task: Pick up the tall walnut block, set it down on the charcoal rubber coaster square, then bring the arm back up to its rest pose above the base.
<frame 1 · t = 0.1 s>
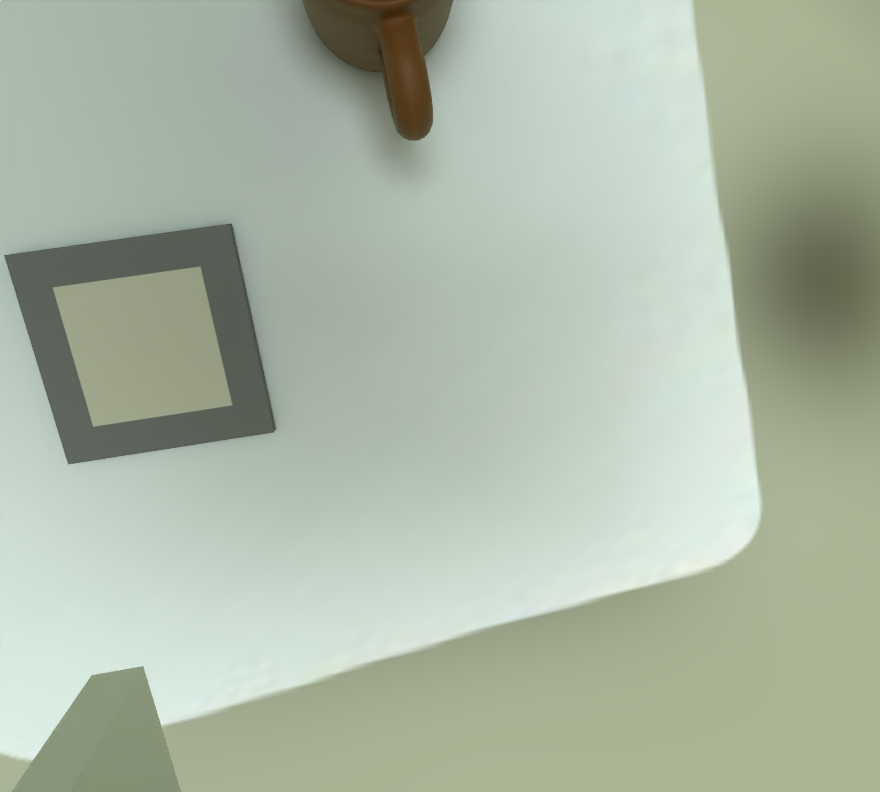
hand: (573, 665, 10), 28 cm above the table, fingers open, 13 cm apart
mug: (387, 44, 33), on the table
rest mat: (149, 346, 35), on the table
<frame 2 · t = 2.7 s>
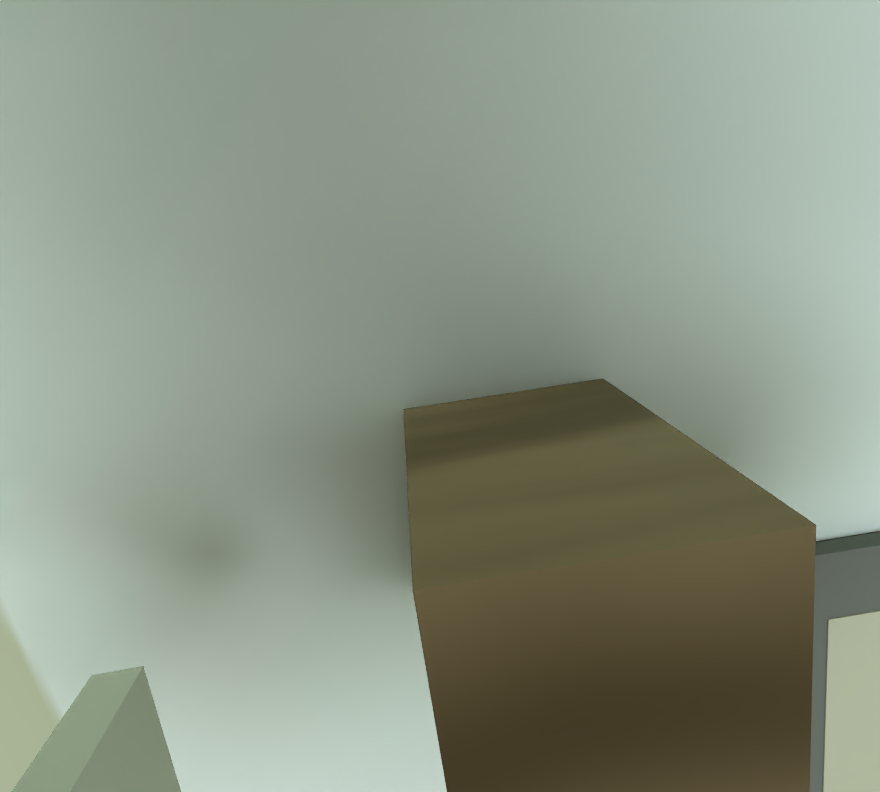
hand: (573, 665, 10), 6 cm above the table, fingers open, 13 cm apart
walnut block: (514, 486, 16), on the table
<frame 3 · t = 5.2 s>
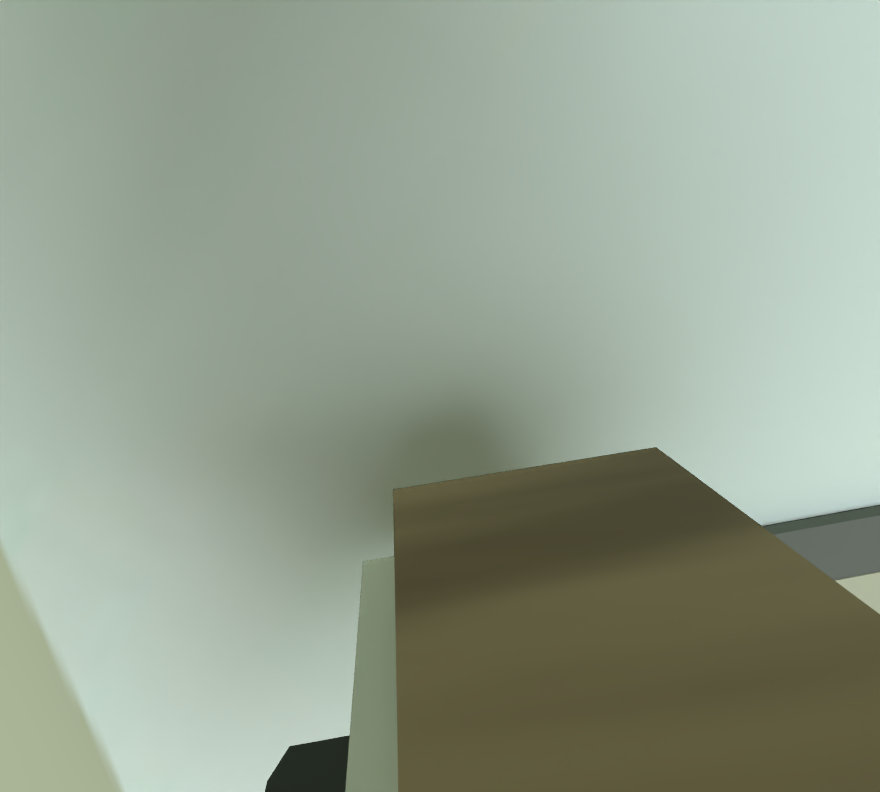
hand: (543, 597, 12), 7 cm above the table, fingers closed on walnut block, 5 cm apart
walnut block: (539, 586, 12), point 7 cm above the table, touching gripper
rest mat: (838, 670, 22), on the table
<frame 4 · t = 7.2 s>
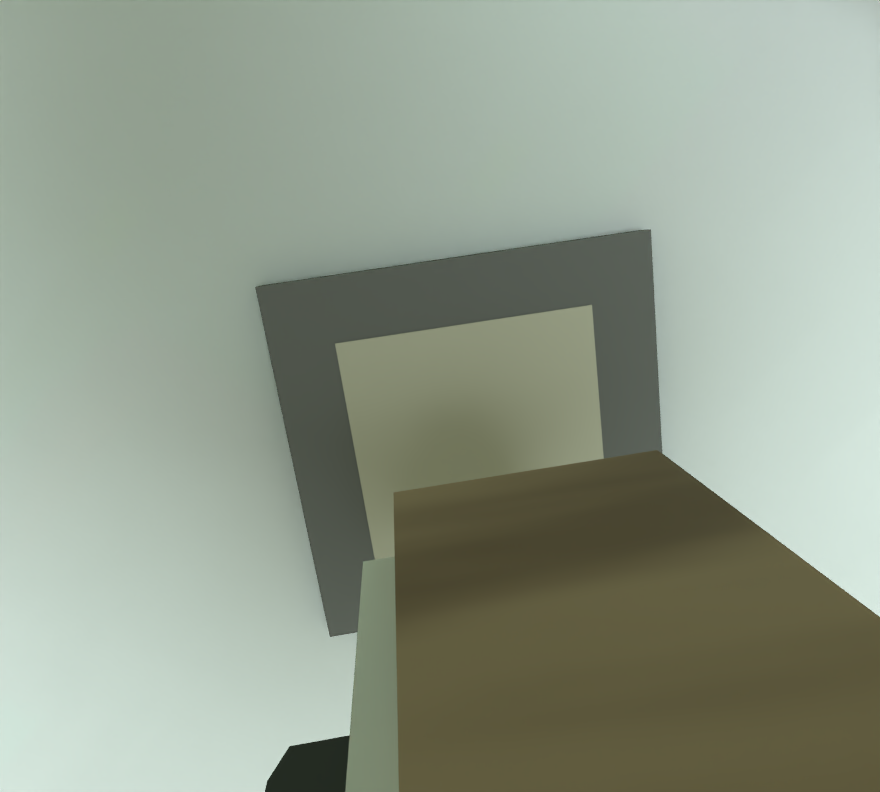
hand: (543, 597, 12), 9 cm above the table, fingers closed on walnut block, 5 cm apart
walnut block: (539, 589, 12), point 9 cm above the table, touching gripper
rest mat: (477, 440, 21), on the table
when the fingers open (1 cm above the table, at t = 9.2 s): walnut block stays where it is, resting on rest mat.
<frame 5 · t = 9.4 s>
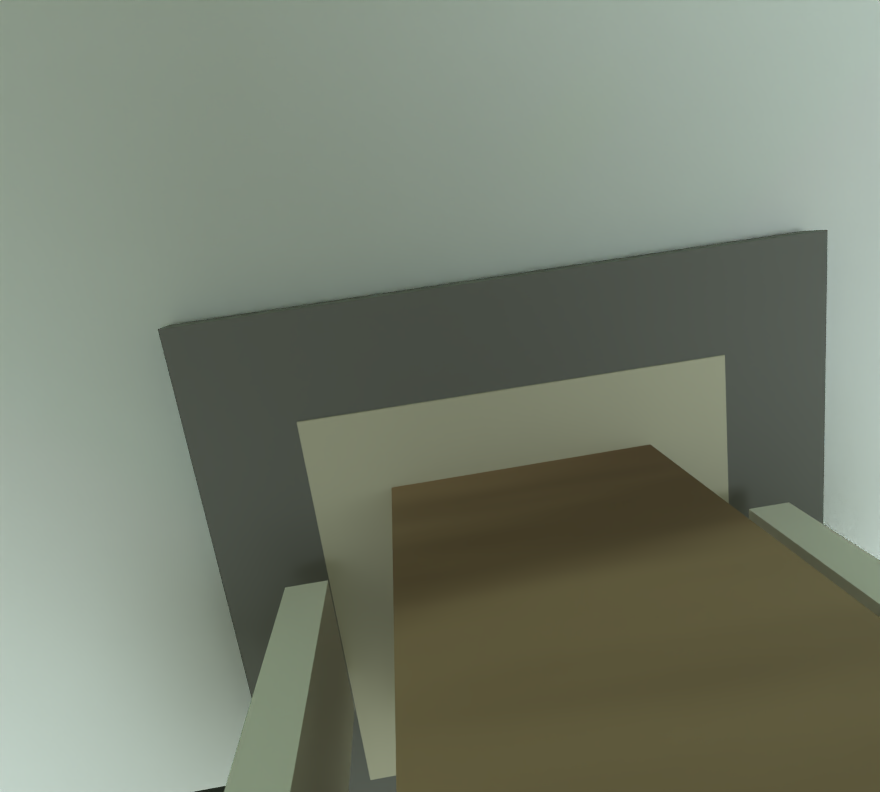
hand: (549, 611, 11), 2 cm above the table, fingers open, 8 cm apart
walnut block: (535, 582, 12), point 1 cm above the table, touching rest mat
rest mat: (528, 565, 13), on the table
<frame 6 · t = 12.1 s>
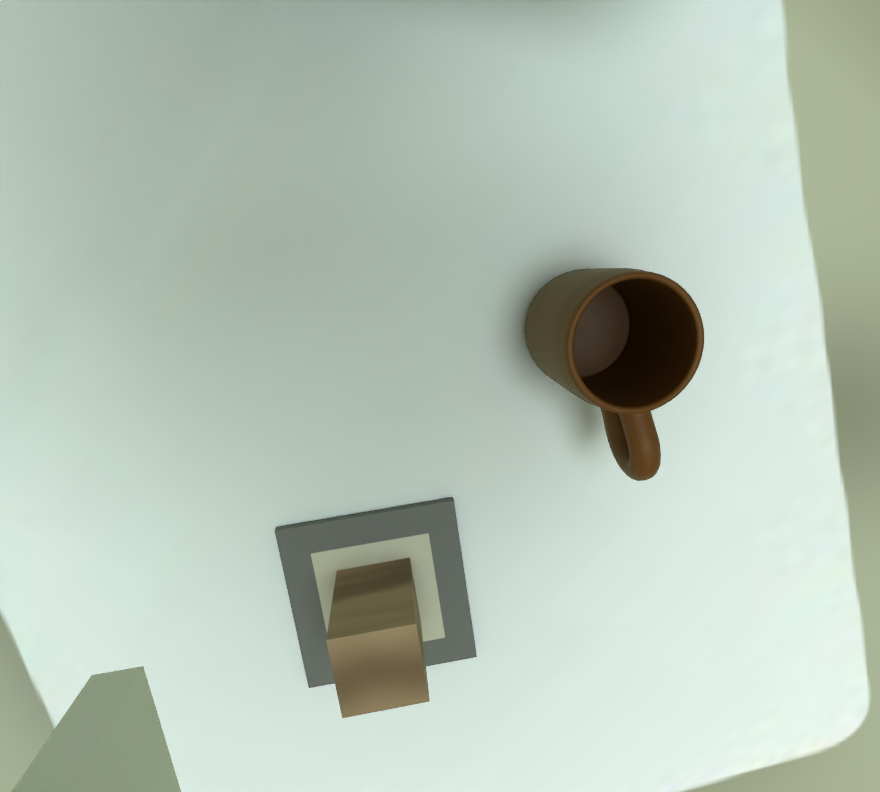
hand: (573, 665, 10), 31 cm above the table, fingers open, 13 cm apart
mug: (583, 359, 41), on the table
walnut block: (379, 597, 42), point 1 cm above the table, touching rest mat
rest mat: (379, 591, 43), on the table
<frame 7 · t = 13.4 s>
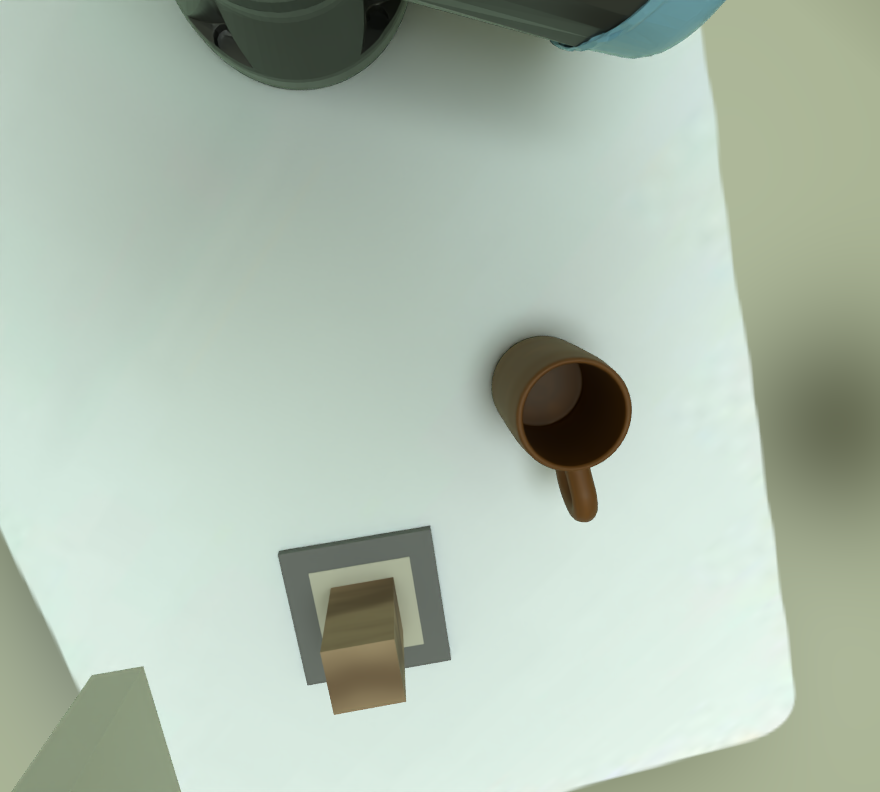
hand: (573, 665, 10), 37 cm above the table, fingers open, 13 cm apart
mug: (542, 409, 48), on the table
walnut block: (367, 609, 49), point 1 cm above the table, touching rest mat
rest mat: (367, 605, 50), on the table
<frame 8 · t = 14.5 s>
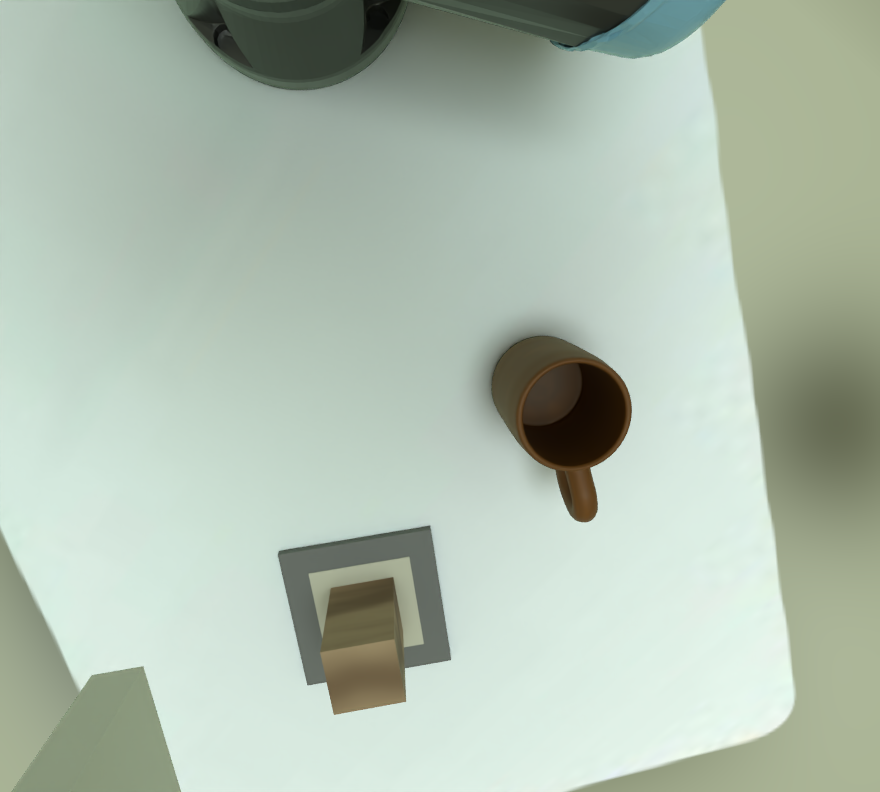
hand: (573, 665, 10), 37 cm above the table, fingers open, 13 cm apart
mug: (542, 409, 48), on the table
walnut block: (367, 609, 49), point 1 cm above the table, touching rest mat
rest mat: (367, 605, 50), on the table
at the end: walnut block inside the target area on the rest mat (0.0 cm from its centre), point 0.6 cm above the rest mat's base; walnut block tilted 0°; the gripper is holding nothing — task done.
